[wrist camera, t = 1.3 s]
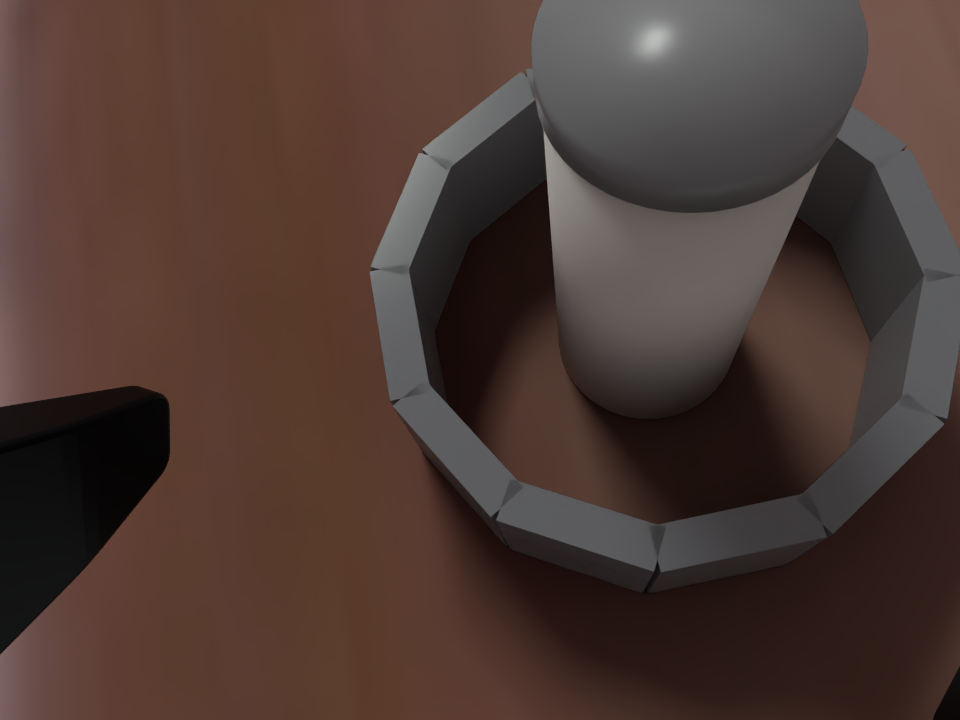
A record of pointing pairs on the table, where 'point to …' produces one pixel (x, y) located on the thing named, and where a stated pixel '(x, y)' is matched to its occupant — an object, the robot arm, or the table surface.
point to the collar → (716, 536)
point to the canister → (679, 175)
